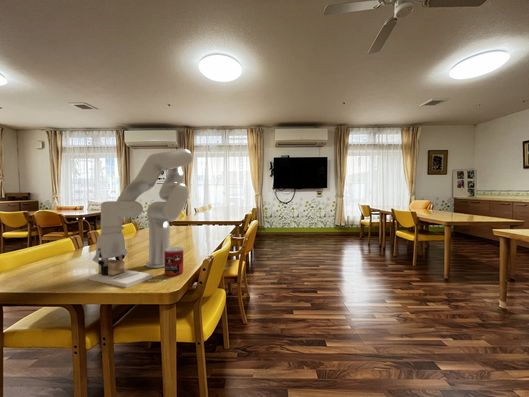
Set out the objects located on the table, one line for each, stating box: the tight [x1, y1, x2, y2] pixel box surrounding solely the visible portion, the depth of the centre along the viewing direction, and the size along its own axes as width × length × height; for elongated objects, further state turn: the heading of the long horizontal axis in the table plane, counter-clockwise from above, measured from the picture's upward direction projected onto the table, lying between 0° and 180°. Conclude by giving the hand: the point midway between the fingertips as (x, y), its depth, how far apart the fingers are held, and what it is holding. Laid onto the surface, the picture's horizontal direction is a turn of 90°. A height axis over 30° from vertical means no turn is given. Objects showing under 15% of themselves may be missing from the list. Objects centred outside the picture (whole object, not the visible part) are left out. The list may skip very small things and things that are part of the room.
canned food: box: [164, 246, 184, 277], centre depth 107 cm, size 8×8×11 cm
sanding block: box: [98, 258, 125, 276], centre depth 103 cm, size 5×9×5 cm, turn 67°
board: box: [88, 268, 154, 288], centre depth 100 cm, size 12×22×2 cm, turn 67°
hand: (111, 272), depth 103 cm, fingers closed on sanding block, 5 cm apart
